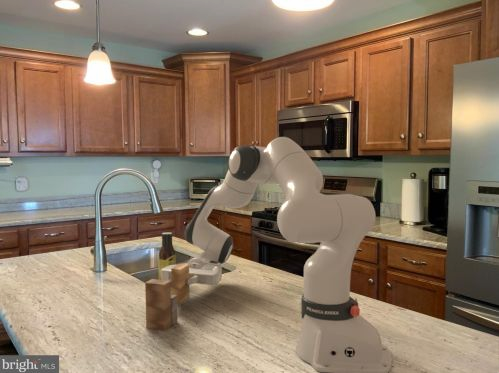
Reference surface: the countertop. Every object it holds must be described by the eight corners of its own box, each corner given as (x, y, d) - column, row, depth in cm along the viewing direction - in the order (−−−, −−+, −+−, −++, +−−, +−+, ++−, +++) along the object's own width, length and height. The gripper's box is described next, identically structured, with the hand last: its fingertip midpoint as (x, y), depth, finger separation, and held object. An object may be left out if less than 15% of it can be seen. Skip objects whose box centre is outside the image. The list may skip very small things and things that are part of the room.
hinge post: (177, 321, 116) (176, 278, 115) (166, 330, 110) (166, 284, 109) (156, 318, 118) (155, 276, 117) (144, 327, 112) (143, 282, 111)
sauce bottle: (172, 289, 145) (171, 235, 143) (156, 288, 146) (154, 234, 144) (178, 283, 151) (178, 231, 149) (163, 282, 152) (162, 231, 151)
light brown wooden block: (189, 297, 129) (189, 264, 128) (180, 304, 123) (180, 269, 122) (180, 296, 130) (180, 263, 129) (171, 303, 124) (171, 268, 123)
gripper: (171, 258, 142) (151, 269, 128) (225, 263, 136) (209, 275, 122) (171, 275, 142) (151, 288, 129) (225, 281, 136) (209, 295, 123)
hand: (180, 282), depth 126 cm, fingers closed on light brown wooden block, 3 cm apart
